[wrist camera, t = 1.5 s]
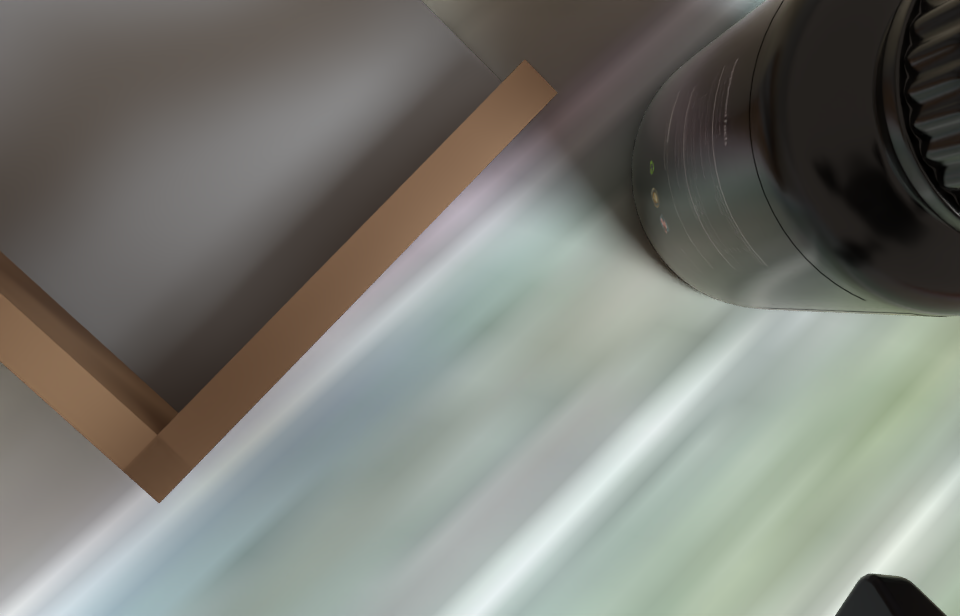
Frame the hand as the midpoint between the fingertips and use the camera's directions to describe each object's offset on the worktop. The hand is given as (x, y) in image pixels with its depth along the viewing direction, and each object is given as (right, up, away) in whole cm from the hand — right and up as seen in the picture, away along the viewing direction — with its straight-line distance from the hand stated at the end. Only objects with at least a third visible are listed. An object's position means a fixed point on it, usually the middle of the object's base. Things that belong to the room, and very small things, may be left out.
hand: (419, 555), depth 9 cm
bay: (-7, +8, +13) cm, 16 cm away
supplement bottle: (+8, +6, +15) cm, 17 cm away
